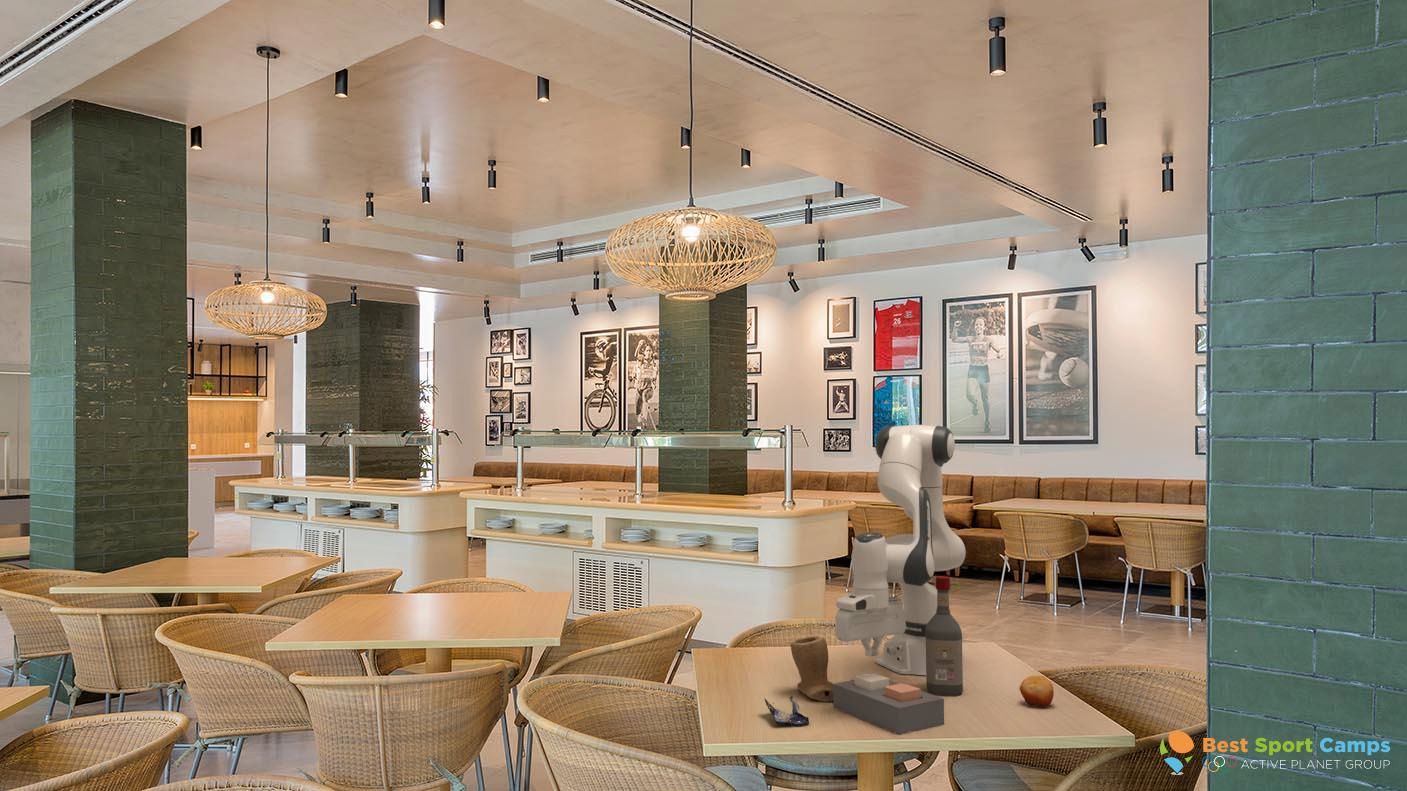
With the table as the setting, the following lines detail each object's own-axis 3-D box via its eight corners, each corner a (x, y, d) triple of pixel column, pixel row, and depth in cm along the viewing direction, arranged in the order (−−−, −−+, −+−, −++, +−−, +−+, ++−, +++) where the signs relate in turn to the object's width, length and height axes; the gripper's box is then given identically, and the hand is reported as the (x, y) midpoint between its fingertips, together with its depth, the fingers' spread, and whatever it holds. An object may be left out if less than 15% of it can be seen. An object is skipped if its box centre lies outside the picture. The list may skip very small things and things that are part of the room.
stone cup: (786, 689, 254) (785, 632, 255) (828, 686, 257) (828, 630, 257) (802, 705, 240) (801, 645, 240) (847, 702, 242) (846, 643, 242)
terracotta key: (884, 700, 227) (884, 686, 227) (903, 696, 230) (903, 683, 230) (901, 706, 222) (901, 692, 222) (920, 702, 225) (920, 689, 225)
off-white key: (854, 689, 236) (854, 676, 236) (873, 685, 239) (873, 673, 239) (870, 695, 231) (870, 682, 231) (889, 691, 234) (889, 678, 234)
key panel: (833, 707, 237) (833, 683, 237) (876, 699, 244) (876, 675, 244) (899, 734, 217) (899, 708, 217) (944, 724, 224) (943, 698, 224)
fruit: (1058, 695, 242) (1054, 671, 238) (1053, 718, 236) (1049, 695, 232) (1025, 690, 246) (1021, 667, 242) (1020, 713, 240) (1015, 690, 236)
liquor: (963, 697, 246) (961, 580, 247) (927, 695, 247) (925, 579, 248) (961, 687, 255) (959, 575, 255) (926, 685, 256) (924, 574, 257)
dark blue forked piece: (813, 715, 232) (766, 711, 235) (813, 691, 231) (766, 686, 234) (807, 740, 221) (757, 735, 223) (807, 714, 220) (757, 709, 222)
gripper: (893, 593, 244) (894, 648, 243) (830, 601, 233) (832, 658, 233) (910, 596, 238) (912, 652, 238) (847, 604, 228) (848, 663, 227)
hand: (872, 655), depth 235 cm, fingers closed
